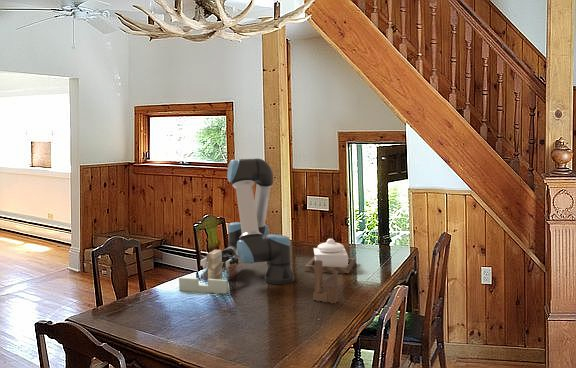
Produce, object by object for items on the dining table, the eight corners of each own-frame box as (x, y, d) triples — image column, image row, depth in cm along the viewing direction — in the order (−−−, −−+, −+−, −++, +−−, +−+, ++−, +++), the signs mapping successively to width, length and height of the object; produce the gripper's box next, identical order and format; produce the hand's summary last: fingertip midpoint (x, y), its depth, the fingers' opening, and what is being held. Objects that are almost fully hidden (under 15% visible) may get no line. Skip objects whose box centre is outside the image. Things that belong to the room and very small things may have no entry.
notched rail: (227, 292, 277) (227, 279, 276) (226, 293, 275) (225, 280, 275) (181, 289, 283) (180, 277, 283) (179, 290, 281) (179, 278, 281)
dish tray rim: (355, 263, 332) (355, 258, 332) (348, 273, 309) (348, 268, 309) (314, 261, 338) (314, 256, 338) (304, 271, 315) (304, 265, 315)
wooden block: (334, 304, 256) (334, 263, 255) (312, 300, 262) (312, 261, 260) (338, 301, 260) (338, 262, 258) (316, 298, 265) (316, 259, 263)
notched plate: (222, 280, 298) (221, 249, 296) (214, 286, 288) (214, 254, 287) (215, 280, 299) (215, 249, 297) (208, 285, 289) (207, 253, 288)
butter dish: (348, 270, 315) (348, 241, 313) (314, 271, 315) (314, 241, 314) (345, 263, 332) (345, 235, 331) (313, 263, 332) (313, 235, 331)
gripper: (251, 262, 310) (237, 272, 289) (207, 260, 317) (191, 269, 296) (251, 248, 309) (236, 257, 289) (207, 246, 316) (190, 255, 296)
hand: (213, 263), depth 292 cm, fingers open, 13 cm apart
